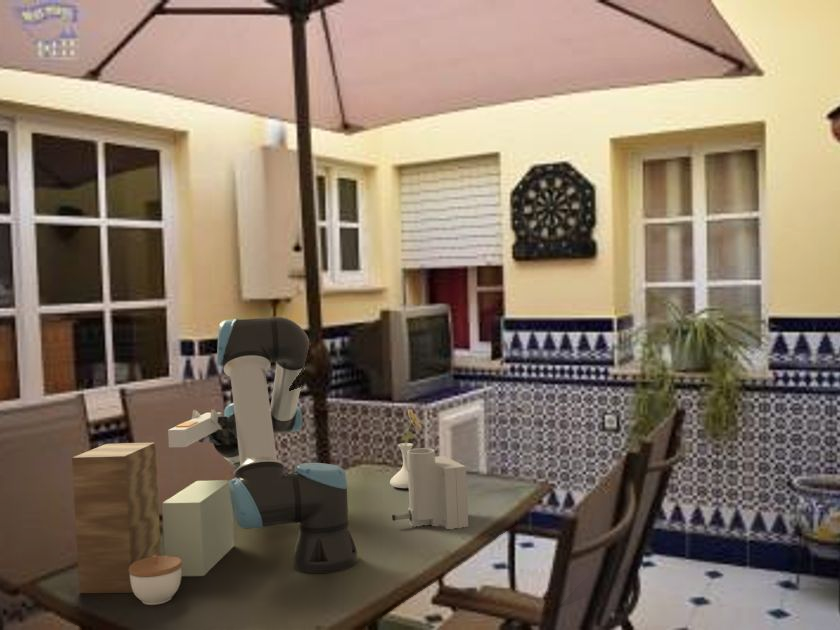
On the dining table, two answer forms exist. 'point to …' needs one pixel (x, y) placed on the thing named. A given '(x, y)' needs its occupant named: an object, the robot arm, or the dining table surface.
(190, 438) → the white bar
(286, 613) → the dining table surface
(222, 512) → the upright ivory cuboid
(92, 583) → the walnut stand
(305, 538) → the robot arm
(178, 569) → the lidded jar
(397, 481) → the flower in vase
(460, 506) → the white tube and box
